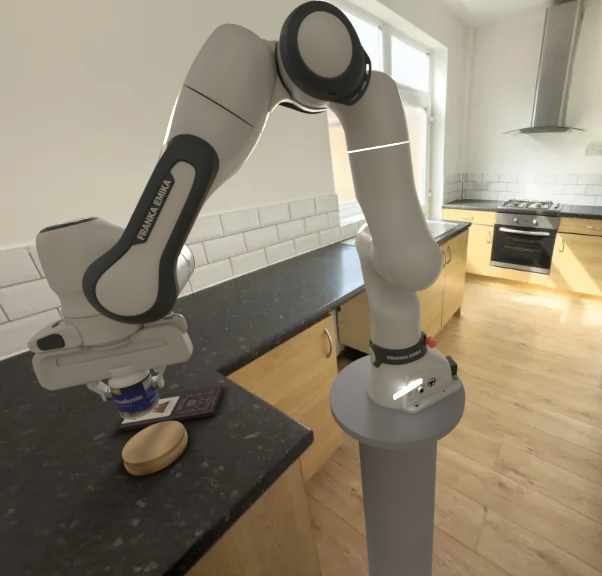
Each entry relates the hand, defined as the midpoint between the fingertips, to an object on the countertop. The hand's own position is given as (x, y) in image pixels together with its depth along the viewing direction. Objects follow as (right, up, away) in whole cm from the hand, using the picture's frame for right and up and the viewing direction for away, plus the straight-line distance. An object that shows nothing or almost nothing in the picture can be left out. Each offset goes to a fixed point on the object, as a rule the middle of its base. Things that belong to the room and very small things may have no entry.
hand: (135, 392), depth 56 cm
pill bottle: (0, -3, +1) cm, 4 cm away
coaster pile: (0, -13, +5) cm, 14 cm away
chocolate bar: (-3, -9, +16) cm, 19 cm away
